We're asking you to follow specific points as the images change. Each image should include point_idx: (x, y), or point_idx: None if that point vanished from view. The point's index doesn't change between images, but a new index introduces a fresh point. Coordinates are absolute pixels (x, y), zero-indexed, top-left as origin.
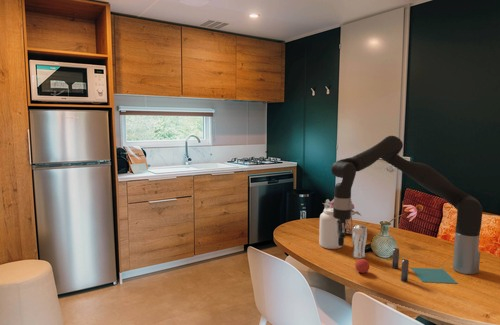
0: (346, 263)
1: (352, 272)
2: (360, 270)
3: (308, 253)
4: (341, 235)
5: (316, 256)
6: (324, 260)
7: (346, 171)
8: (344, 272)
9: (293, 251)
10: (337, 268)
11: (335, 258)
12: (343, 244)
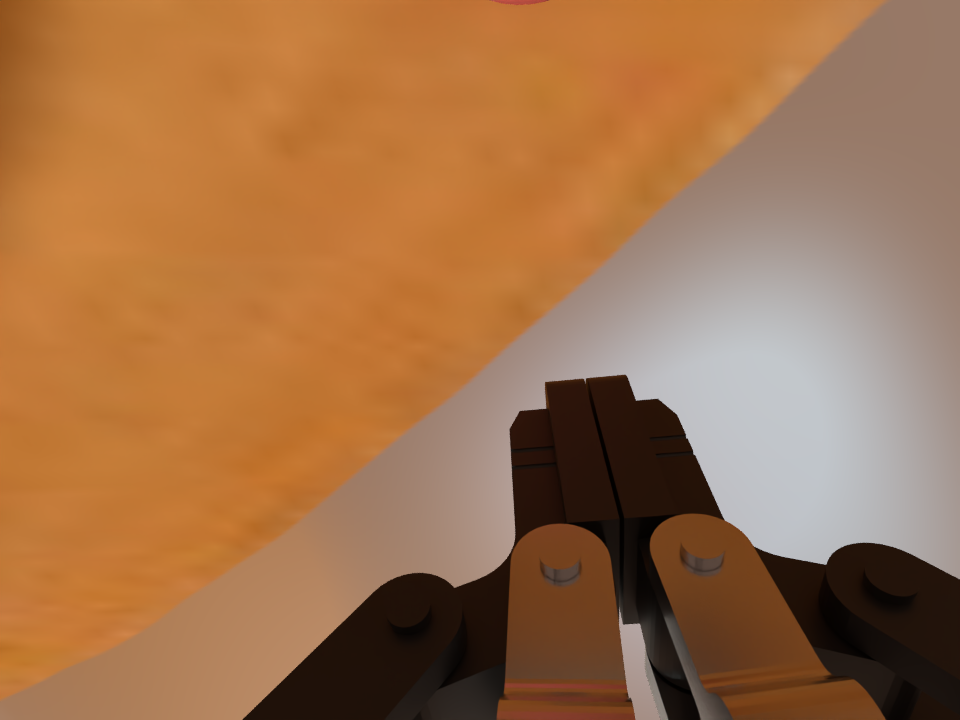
0: (252, 118)
1: (544, 44)
2: None
3: (146, 513)
4: (912, 702)
5: (189, 448)
6: (266, 375)
7: None
8: (561, 157)
9: (166, 613)
10: (456, 240)
11: (144, 259)
12: (628, 387)
